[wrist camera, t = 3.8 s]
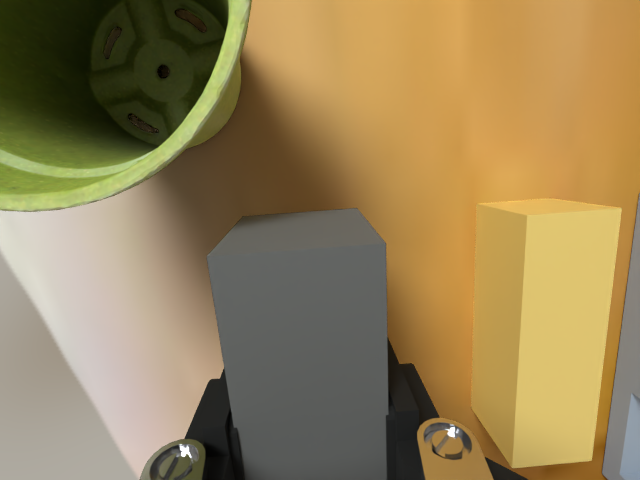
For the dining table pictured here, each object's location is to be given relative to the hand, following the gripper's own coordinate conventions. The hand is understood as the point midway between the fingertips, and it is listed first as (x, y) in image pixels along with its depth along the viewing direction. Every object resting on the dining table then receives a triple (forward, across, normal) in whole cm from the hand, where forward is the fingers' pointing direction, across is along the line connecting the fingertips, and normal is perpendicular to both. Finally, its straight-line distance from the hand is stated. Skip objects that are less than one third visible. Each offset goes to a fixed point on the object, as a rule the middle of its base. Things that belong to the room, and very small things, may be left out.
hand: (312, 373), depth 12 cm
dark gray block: (0, 0, 0) cm, 0 cm away
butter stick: (+6, -10, +1) cm, 11 cm away
